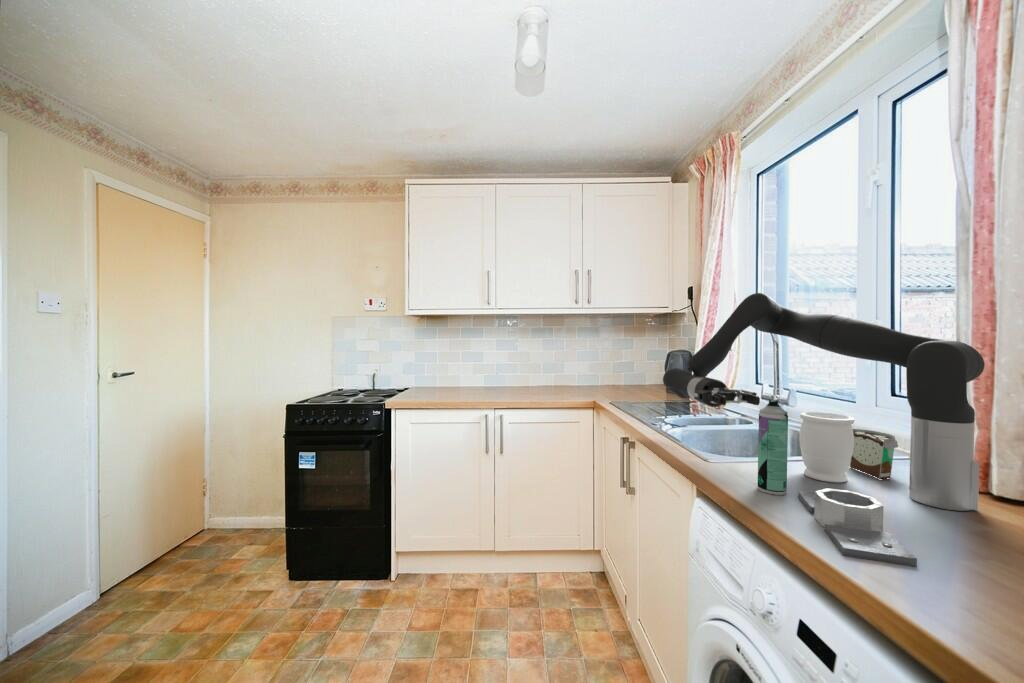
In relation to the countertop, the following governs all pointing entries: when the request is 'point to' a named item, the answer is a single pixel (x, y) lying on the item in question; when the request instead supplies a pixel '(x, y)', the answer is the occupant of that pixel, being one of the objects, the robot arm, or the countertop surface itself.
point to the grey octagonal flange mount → (856, 525)
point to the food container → (873, 452)
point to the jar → (826, 445)
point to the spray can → (772, 449)
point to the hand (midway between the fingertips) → (741, 400)
